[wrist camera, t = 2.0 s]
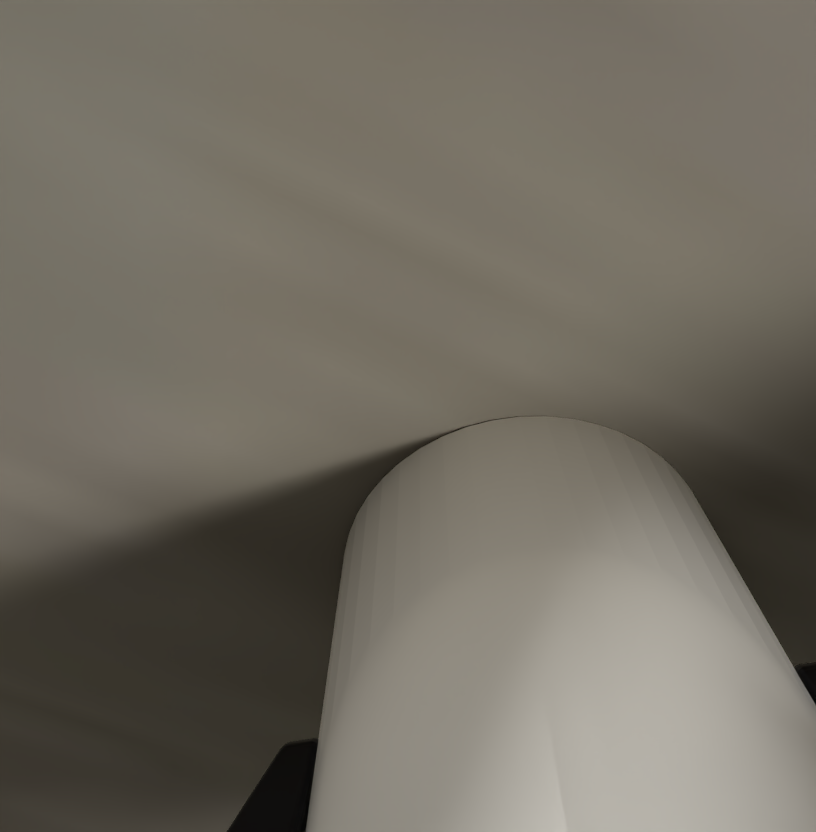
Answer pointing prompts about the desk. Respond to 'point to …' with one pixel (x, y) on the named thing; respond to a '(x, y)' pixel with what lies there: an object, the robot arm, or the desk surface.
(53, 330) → the desk surface
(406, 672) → the cylinder
